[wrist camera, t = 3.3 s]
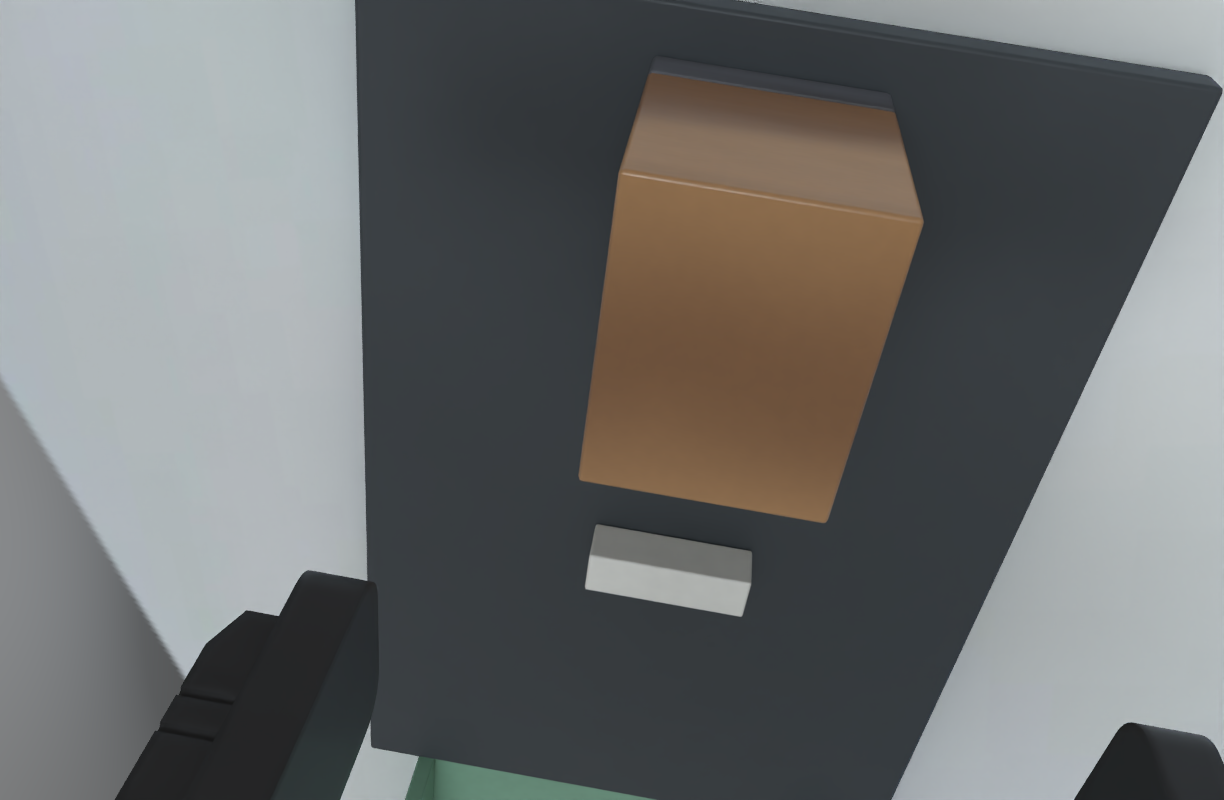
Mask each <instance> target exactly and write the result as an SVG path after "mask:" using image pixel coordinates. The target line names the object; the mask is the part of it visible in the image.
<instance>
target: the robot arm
mask: <svg viewBox="0 0 1224 800" xmlns="http://www.w3.org/2000/svg"><path fill="white" fill-rule="evenodd" d="M378 681H379V635H378V591H377V586H376V584H375V583H374V582H371V581H365V580H360V579H354V578H349V577H343V576H338V575H332V574H327V573H321V572H316V571H309V570H308V571H306V572H304V573H303V574H302V575H301V577H300V578H299V580H298V581H297V583H296V585H295V587H294V589H293V590H292V592H291V594H290V596H289V598H288V600H287V602H286V604H285V606H284V608H283V609H282V611H281V613H280V615H279V616H274V615H269V614H263V613H258V612H253V611H247V610H246V611H245V612H244V613H243V614H242V615H240V616H239V617H238V618H237V619H236V620H234V621H233V622H232V623H231V624H229V625H228V626H227V627H226V628H225V629H223V630H222V631H221V632H220V633H219V634H217V635H216V636H215V637H214V638H212V639H211V640H210V641H209V642H208V643H206V645H205V646H204V648H203V650H202V651H201V653H200V655H199V657H198V658H197V660H196V662H195V663H194V665H193V667H192V669H191V670H190V672H189V674H188V675H187V677H186V679H185V681H184V682H183V684H182V686H181V691H180V694H179V695H176V696H175V698H174V699H173V701H172V703H171V705H170V706H169V708H168V710H167V711H166V713H165V715H164V716H163V718H162V720H161V722H160V728H159V730H158V731H155V732H154V734H153V735H152V737H151V739H150V740H149V742H148V744H147V746H146V747H145V749H144V751H143V752H142V754H141V756H140V757H139V759H138V761H137V763H136V764H135V766H134V768H133V769H132V771H131V773H130V775H129V776H128V778H127V780H126V781H125V783H124V785H123V787H122V788H121V790H120V792H119V793H118V795H117V797H116V798H115V800H340V799H341V796H342V793H343V791H344V788H345V786H346V783H347V781H348V778H349V775H350V773H351V770H352V768H353V765H354V762H355V760H356V757H357V755H358V752H359V750H360V747H361V744H362V742H363V739H364V737H365V734H366V731H367V729H368V726H369V723H370V720H371V716H372V712H373V709H374V704H375V700H376V695H377V689H378ZM1074 800H1224V764H1223V762H1222V759H1221V756H1220V754H1219V752H1218V750H1217V748H1216V747H1215V745H1214V744H1213V743H1212V742H1211V741H1210V740H1209V739H1208V738H1207V737H1205V736H1202V735H1198V734H1192V733H1187V732H1181V731H1176V730H1170V729H1165V728H1159V727H1154V726H1148V725H1143V724H1137V723H1126V724H1124V725H1123V726H1122V727H1121V728H1120V729H1119V730H1118V731H1117V733H1116V734H1115V736H1114V737H1113V739H1112V740H1111V742H1110V744H1109V745H1108V747H1107V748H1106V750H1105V751H1104V753H1103V755H1102V756H1101V758H1100V759H1099V761H1098V763H1097V764H1096V766H1095V767H1094V769H1093V770H1092V772H1091V774H1090V775H1089V777H1088V778H1087V780H1086V782H1085V783H1084V785H1083V786H1082V788H1081V789H1080V791H1079V793H1078V794H1077V796H1076V797H1075V799H1074Z"/></svg>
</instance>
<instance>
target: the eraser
mask: <svg viewBox="0 0 1224 800" xmlns="http://www.w3.org/2000/svg"><path fill="white" fill-rule="evenodd" d="M923 224H924V221H923V216H922V212H921V208H920V204H919V201H918V197H917V193H916V189H915V185H914V182H913V178H912V174H911V170H910V166H909V163H908V159H907V155H906V151H905V147H904V143H903V140H902V136H901V132H900V128H899V124H898V121H897V117H896V114H895V110H894V106H893V102H892V98H891V95H890V94H888V93H884V92H878V91H872V90H866V89H860V88H853V87H847V86H841V85H835V84H829V83H822V82H816V81H810V80H804V79H798V78H791V77H785V76H779V75H773V74H767V73H761V72H754V71H748V70H742V69H736V68H730V67H723V66H717V65H711V64H705V63H699V62H692V61H686V60H680V59H674V58H668V57H661V56H656V57H654V58H653V60H652V63H651V66H650V70H649V73H648V77H647V79H646V83H645V86H644V89H643V93H642V96H641V99H640V103H639V106H638V109H637V113H636V116H635V119H634V123H633V126H632V129H631V133H630V136H629V139H628V143H627V146H626V149H625V153H624V156H623V159H622V163H621V166H620V169H619V173H618V180H617V187H616V195H615V202H614V210H613V217H612V225H611V233H610V240H609V248H608V255H607V263H606V270H605V278H604V285H603V293H602V300H601V308H600V316H599V323H598V331H597V338H596V346H595V353H594V361H593V368H592V376H591V383H590V391H589V399H588V406H587V414H586V421H585V429H584V436H583V444H582V451H581V459H580V466H579V474H578V476H579V479H580V480H581V481H584V482H590V483H596V484H602V485H607V486H613V487H619V488H625V489H630V490H636V491H642V492H647V493H653V494H659V495H665V496H670V497H676V498H682V499H687V500H693V501H699V502H705V503H710V504H716V505H722V506H727V507H733V508H739V509H745V510H750V511H756V512H762V513H767V514H773V515H779V516H785V517H790V518H796V519H802V520H808V521H813V522H819V523H826V522H827V520H828V518H829V515H830V512H831V509H832V506H833V503H834V500H835V496H836V493H837V490H838V487H839V484H840V481H841V478H842V475H843V472H844V469H845V466H846V462H847V459H848V456H849V453H850V450H851V447H852V444H853V441H854V438H855V435H856V431H857V428H858V425H859V422H860V419H861V416H862V413H863V410H864V407H865V404H866V401H867V397H868V394H869V391H870V388H871V385H872V382H873V379H874V376H875V373H876V370H877V367H878V363H879V360H880V357H881V354H882V351H883V348H884V345H885V342H886V339H887V336H888V333H889V329H890V326H891V323H892V320H893V317H894V314H895V311H896V308H897V305H898V302H899V298H900V295H901V292H902V289H903V286H904V283H905V280H906V277H907V274H908V271H909V268H910V264H911V261H912V258H913V255H914V252H915V249H916V246H917V243H918V240H919V237H920V234H921V230H922V227H923Z"/></svg>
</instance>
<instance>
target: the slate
mask: <svg viewBox="0 0 1224 800" xmlns="http://www.w3.org/2000/svg"><path fill="white" fill-rule="evenodd" d="M355 17H356V64H357V110H358V157H359V204H360V251H361V297H362V344H363V391H364V437H365V484H366V531H367V577H368V581H371V582H374V583H375V584H376V586H377V591H378V635H379V681H378V689H377V695H376V700H375V704H374V709H373V712H372V716H371V746H372V747H373V748H378V749H383V750H389V751H394V752H399V753H405V754H410V755H416V756H421V757H427V758H432V759H437V760H443V761H448V762H454V763H459V764H465V765H470V766H475V767H481V768H486V769H492V770H497V771H503V772H508V773H513V774H519V775H524V776H530V777H535V778H541V779H546V780H551V781H557V782H562V783H568V784H573V785H579V786H584V787H590V788H595V789H600V790H606V791H611V792H617V793H622V794H628V795H633V796H638V797H644V798H649V799H655V800H891V799H892V797H893V795H894V793H895V791H896V789H897V786H898V784H899V782H900V780H901V778H902V776H903V774H904V771H905V769H906V767H907V765H908V763H909V761H910V759H911V757H912V754H913V752H914V750H915V748H916V746H917V744H918V742H919V739H920V737H921V735H922V733H923V731H924V729H925V727H926V725H927V722H928V720H929V718H930V716H931V714H932V712H933V710H934V707H935V705H936V703H937V701H938V699H939V697H940V695H941V693H942V690H943V688H944V686H945V684H946V682H947V680H948V678H949V675H950V673H951V671H952V669H953V667H954V665H955V663H956V660H957V658H958V656H959V654H960V652H961V650H962V648H963V646H964V643H965V641H966V639H967V637H968V635H969V633H970V631H971V628H972V626H973V624H974V622H975V620H976V618H977V616H978V614H979V611H980V609H981V607H982V605H983V603H984V601H985V599H986V596H987V594H988V592H989V590H990V588H991V586H992V584H993V582H994V579H995V577H996V575H997V573H998V571H999V569H1000V567H1001V564H1002V562H1003V560H1004V558H1005V556H1006V554H1007V552H1008V549H1009V547H1010V545H1011V543H1012V541H1013V539H1014V537H1015V535H1016V532H1017V530H1018V528H1019V526H1020V524H1021V522H1022V520H1023V517H1024V515H1025V513H1026V511H1027V509H1028V507H1029V505H1030V503H1031V500H1032V498H1033V496H1034V494H1035V492H1036V490H1037V488H1038V485H1039V483H1040V481H1041V479H1042V477H1043V475H1044V473H1045V471H1046V468H1047V466H1048V464H1049V462H1050V460H1051V458H1052V456H1053V453H1054V451H1055V449H1056V447H1057V445H1058V443H1059V441H1060V438H1061V436H1062V434H1063V432H1064V430H1065V428H1066V426H1067V424H1068V421H1069V419H1070V417H1071V415H1072V413H1073V411H1074V409H1075V406H1076V404H1077V402H1078V400H1079V398H1080V396H1081V394H1082V392H1083V389H1084V387H1085V385H1086V383H1087V381H1088V379H1089V377H1090V374H1091V372H1092V370H1093V368H1094V366H1095V364H1096V362H1097V360H1098V357H1099V355H1100V353H1101V351H1102V349H1103V347H1104V345H1105V342H1106V340H1107V338H1108V336H1109V334H1110V332H1111V330H1112V328H1113V325H1114V323H1115V321H1116V319H1117V317H1118V315H1119V313H1120V310H1121V308H1122V306H1123V304H1124V302H1125V300H1126V298H1127V295H1128V293H1129V291H1130V289H1131V287H1132V285H1133V283H1134V281H1135V278H1136V276H1137V274H1138V272H1139V270H1140V268H1141V266H1142V263H1143V261H1144V259H1145V257H1146V255H1147V253H1148V251H1149V249H1150V246H1151V244H1152V242H1153V240H1154V238H1155V236H1156V234H1157V231H1158V229H1159V227H1160V225H1161V223H1162V221H1163V219H1164V217H1165V214H1166V212H1167V210H1168V208H1169V206H1170V204H1171V202H1172V199H1173V197H1174V195H1175V193H1176V191H1177V189H1178V187H1179V184H1180V182H1181V180H1182V178H1183V176H1184V174H1185V172H1186V170H1187V167H1188V165H1189V163H1190V161H1191V159H1192V157H1193V155H1194V152H1195V150H1196V148H1197V146H1198V144H1199V142H1200V140H1201V138H1202V135H1203V133H1204V131H1205V129H1206V127H1207V125H1208V123H1209V120H1210V118H1211V116H1212V114H1213V112H1214V110H1215V108H1216V106H1217V103H1218V101H1219V99H1220V97H1221V95H1222V88H1221V87H1220V86H1219V85H1218V84H1217V83H1216V82H1215V81H1214V80H1213V79H1212V78H1211V77H1209V76H1207V75H1201V74H1195V73H1188V72H1182V71H1176V70H1169V69H1163V68H1157V67H1151V66H1144V65H1138V64H1132V63H1126V62H1119V61H1113V60H1107V59H1100V58H1094V57H1088V56H1082V55H1075V54H1069V53H1063V52H1057V51H1050V50H1044V49H1038V48H1031V47H1025V46H1019V45H1013V44H1006V43H1000V42H994V41H988V40H981V39H975V38H969V37H963V36H956V35H950V34H944V33H937V32H931V31H925V30H919V29H912V28H906V27H900V26H894V25H887V24H881V23H875V22H868V21H862V20H856V19H850V18H843V17H837V16H831V15H825V14H818V13H812V12H806V11H799V10H793V9H787V8H781V7H774V6H768V5H762V4H756V3H749V2H743V1H737V0H355ZM656 56H661V57H668V58H674V59H680V60H686V61H692V62H699V63H705V64H711V65H717V66H723V67H730V68H736V69H742V70H748V71H754V72H761V73H767V74H773V75H779V76H785V77H791V78H798V79H804V80H810V81H816V82H822V83H829V84H835V85H841V86H847V87H853V88H860V89H866V90H872V91H878V92H884V93H888V94H890V95H891V98H892V102H893V106H894V110H895V114H896V117H897V121H898V124H899V128H900V132H901V136H902V140H903V143H904V147H905V151H906V155H907V159H908V163H909V166H910V170H911V174H912V178H913V182H914V185H915V189H916V193H917V197H918V201H919V204H920V208H921V212H922V216H923V221H924V224H923V227H922V230H921V234H920V237H919V240H918V243H917V246H916V249H915V252H914V255H913V258H912V261H911V264H910V268H909V271H908V274H907V277H906V280H905V283H904V286H903V289H902V292H901V295H900V298H899V302H898V305H897V308H896V311H895V314H894V317H893V320H892V323H891V326H890V329H889V333H888V336H887V339H886V342H885V345H884V348H883V351H882V354H881V357H880V360H879V363H878V367H877V370H876V373H875V376H874V379H873V382H872V385H871V388H870V391H869V394H868V397H867V401H866V404H865V407H864V410H863V413H862V416H861V419H860V422H859V425H858V428H857V431H856V435H855V438H854V441H853V444H852V447H851V450H850V453H849V456H848V459H847V462H846V466H845V469H844V472H843V475H842V478H841V481H840V484H839V487H838V490H837V493H836V496H835V500H834V503H833V506H832V509H831V512H830V515H829V518H828V520H827V522H826V523H819V522H813V521H808V520H802V519H796V518H790V517H785V516H779V515H773V514H767V513H762V512H756V511H750V510H745V509H739V508H733V507H727V506H722V505H716V504H710V503H705V502H699V501H693V500H687V499H682V498H676V497H670V496H665V495H659V494H653V493H647V492H642V491H636V490H630V489H625V488H619V487H613V486H607V485H602V484H596V483H590V482H584V481H581V480H580V479H579V476H578V474H579V466H580V459H581V451H582V444H583V436H584V429H585V421H586V414H587V406H588V399H589V391H590V383H591V376H592V368H593V361H594V353H595V346H596V338H597V331H598V323H599V316H600V308H601V300H602V293H603V285H604V278H605V270H606V263H607V255H608V248H609V240H610V233H611V225H612V217H613V210H614V202H615V195H616V187H617V180H618V173H619V169H620V166H621V163H622V159H623V156H624V153H625V149H626V146H627V143H628V139H629V136H630V133H631V129H632V126H633V123H634V119H635V116H636V113H637V109H638V106H639V103H640V99H641V96H642V93H643V89H644V86H645V83H646V79H647V77H648V73H649V70H650V66H651V63H652V60H653V58H654V57H656ZM597 524H600V525H606V526H611V527H617V528H623V529H628V530H634V531H640V532H646V533H651V534H657V535H663V536H668V537H674V538H680V539H685V540H691V541H697V542H702V543H708V544H714V545H719V546H725V547H731V548H736V549H742V550H748V551H751V552H752V576H751V587H750V591H749V594H748V598H747V601H746V605H745V609H744V612H743V615H742V616H741V617H739V616H734V615H728V614H723V613H717V612H711V611H706V610H700V609H694V608H689V607H683V606H678V605H672V604H666V603H661V602H655V601H650V600H644V599H638V598H633V597H627V596H621V595H616V594H610V593H605V592H599V591H593V590H588V589H585V582H586V575H587V568H588V562H589V555H590V550H591V545H592V541H593V536H594V531H595V526H596V525H597Z"/></svg>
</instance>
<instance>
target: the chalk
mask: <svg viewBox="0 0 1224 800" xmlns="http://www.w3.org/2000/svg"><path fill="white" fill-rule="evenodd" d="M751 576H752V552H751V551H748V550H742V549H736V548H731V547H725V546H719V545H714V544H708V543H702V542H697V541H691V540H685V539H680V538H674V537H668V536H663V535H657V534H651V533H646V532H640V531H634V530H628V529H623V528H617V527H611V526H606V525H600V524H597V525H596V526H595V531H594V536H593V541H592V545H591V550H590V555H589V562H588V568H587V575H586V582H585V589H588V590H593V591H599V592H605V593H610V594H616V595H621V596H627V597H633V598H638V599H644V600H650V601H655V602H661V603H666V604H672V605H678V606H683V607H689V608H694V609H700V610H706V611H711V612H717V613H723V614H728V615H734V616H739V617H741V616H742V615H743V612H744V609H745V605H746V601H747V598H748V594H749V591H750V587H751Z"/></svg>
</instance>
